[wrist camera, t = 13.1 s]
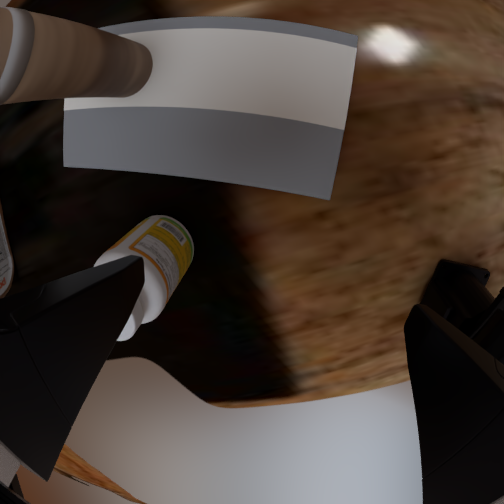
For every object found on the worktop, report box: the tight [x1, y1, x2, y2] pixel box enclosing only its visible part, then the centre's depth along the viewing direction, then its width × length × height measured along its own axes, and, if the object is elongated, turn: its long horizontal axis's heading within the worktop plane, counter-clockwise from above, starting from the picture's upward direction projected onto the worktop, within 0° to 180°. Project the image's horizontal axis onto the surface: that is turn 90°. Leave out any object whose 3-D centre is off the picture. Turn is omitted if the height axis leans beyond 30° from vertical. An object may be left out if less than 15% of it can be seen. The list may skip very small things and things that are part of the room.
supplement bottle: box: [94, 215, 194, 341], centre depth 19 cm, size 5×5×10 cm
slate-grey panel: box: [63, 17, 358, 200], centre depth 18 cm, size 22×12×1 cm, turn 83°
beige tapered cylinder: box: [0, 7, 153, 105], centre depth 11 cm, size 5×5×13 cm
